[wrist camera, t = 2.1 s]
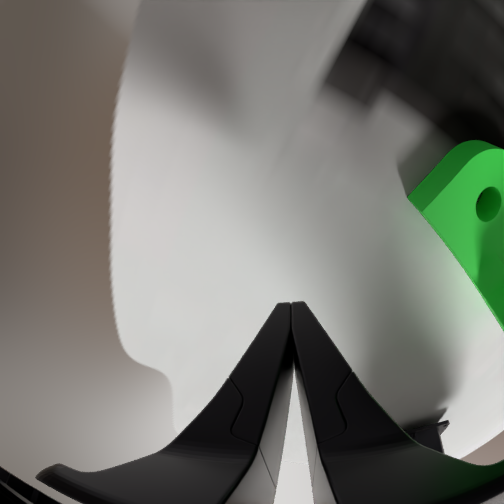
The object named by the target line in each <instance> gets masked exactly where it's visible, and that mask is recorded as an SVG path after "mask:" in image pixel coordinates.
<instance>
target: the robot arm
mask: <svg viewBox="0 0 504 504" xmlns="http://www.w3.org/2000/svg"><path fill="white" fill-rule="evenodd" d="M294 369H295V376H296V383H297V389H298V395H299V402H300V408H301V415H302V421H303V428H304V435H305V441H306V448H307V455H308V462H309V469H310V476H311V483H312V491H313V498H314V504H504V460H502V461H500V462H498V463H495V464H492V465H475V464H471V463H468V462H465V461H462V460H459V459H457V458H454V457H451V456H448V455H446V454H445V453H444V449H443V445H442V441H441V437H440V435H441V434H442V432H443V431H444V430H445V429H446V428H447V426H448V425H449V420H446V421H443V422H439V423H436V424H432V425H428V426H425V427H421V428H417V429H412V430H408V431H403V429H402V428H401V427H400V426H399V425H398V424H397V423H396V422H395V421H394V420H393V419H392V418H391V417H390V416H389V414H388V413H387V412H386V411H385V410H384V409H383V408H382V407H381V406H380V405H379V404H378V403H377V401H376V400H375V399H374V398H373V397H372V396H371V394H370V393H369V392H368V391H367V389H366V388H365V387H364V385H363V384H362V383H361V381H360V380H359V379H358V377H357V376H356V374H355V373H354V372H352V369H351V367H350V366H349V364H348V363H347V361H346V360H345V359H344V357H343V356H342V354H341V353H340V351H339V350H338V348H337V347H336V346H335V344H334V343H333V341H332V340H331V338H330V337H329V336H328V334H327V333H326V331H325V330H324V328H323V327H322V326H321V324H320V323H319V321H318V320H317V318H316V317H315V316H314V314H313V313H312V311H311V310H310V309H309V307H308V306H307V304H306V303H305V302H304V301H298V302H292V303H290V302H284V303H278V304H277V305H276V306H275V308H274V309H273V311H272V313H271V314H270V316H269V317H268V319H267V320H266V322H265V323H264V325H263V326H262V328H261V329H260V331H259V332H258V334H257V336H256V337H255V339H254V340H253V342H252V343H251V345H250V346H249V348H248V349H247V351H246V352H245V353H244V355H243V356H242V358H241V359H240V361H239V362H238V364H237V365H236V367H235V368H234V370H233V371H232V373H231V374H230V375H229V378H227V380H226V381H225V382H224V384H223V385H222V387H221V388H220V390H219V391H218V392H217V393H216V395H215V396H214V397H213V399H212V400H211V401H210V402H209V403H208V405H207V406H206V407H205V408H204V409H203V410H202V411H201V412H200V413H199V414H198V416H197V417H196V418H195V419H194V420H193V421H192V422H191V423H190V424H189V425H188V426H187V427H186V428H185V429H184V430H183V431H182V432H181V433H180V434H179V435H178V436H177V437H176V438H175V439H174V440H173V441H172V442H171V443H170V444H169V445H167V446H166V447H165V448H163V449H162V450H160V451H158V452H156V453H154V454H151V455H148V456H146V457H143V458H140V459H137V460H134V461H131V462H128V463H125V464H122V465H119V466H115V467H112V468H109V469H105V470H101V471H97V472H80V471H77V470H75V469H72V468H70V467H67V466H65V465H63V464H55V465H53V466H50V467H48V468H45V469H43V470H42V471H41V472H39V473H38V474H37V475H36V477H35V478H36V479H37V480H39V481H41V482H42V483H44V484H46V485H47V486H49V487H51V488H53V489H55V490H56V491H58V492H60V493H62V494H64V495H66V496H68V497H70V498H72V499H74V500H76V501H78V502H80V503H82V504H273V503H274V498H275V493H276V487H277V481H278V476H279V470H280V464H281V459H282V453H283V446H284V440H285V433H286V427H287V420H288V413H289V405H290V398H291V390H292V382H293V373H294ZM0 504H62V503H60V502H58V501H57V500H55V499H53V498H51V497H50V496H48V495H46V494H44V493H43V492H41V491H39V490H37V489H36V488H34V487H33V486H31V485H29V484H28V483H26V482H24V481H23V480H21V479H19V478H18V477H16V476H15V475H13V474H12V473H10V472H9V471H7V470H5V469H4V468H3V467H1V466H0Z"/></svg>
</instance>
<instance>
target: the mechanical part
mask: <svg viewBox="0 0 504 504" xmlns="http://www.w3.org/2000/svg"><path fill="white" fill-rule="evenodd" d="M482 191H483V192H482ZM481 192H482V196H481V198H480V200H479V201H478V203H477V204H476V202H477V199H478V197H479V195H480V193H481ZM407 198H408V199H409V201H410V202H411V203H412V204H413V205H414V206H415V207H416V209H417V210H418V211H419V212H420V213H421V214H422V216H423V217H424V218H425V219H426V220H427V222H428V223H429V224H430V225H431V227H432V228H433V229H434V230H435V231H436V233H437V234H438V235H439V237H440V238H441V239H442V240H443V242H444V243H445V244H446V246H447V247H448V248H449V250H450V251H451V252H452V254H453V255H454V256H455V258H456V259H457V260H458V262H459V263H460V265H461V266H462V267H463V269H464V270H465V272H466V273H467V275H468V276H469V278H470V279H471V281H472V282H473V284H474V285H475V287H476V288H477V290H478V291H479V293H480V294H481V296H482V297H483V299H484V301H485V302H486V304H487V306H488V307H489V309H490V310H491V312H492V313H493V315H494V317H495V318H496V320H497V321H498V323H499V324H500V326H501V328H502V329H503V331H504V149H501V148H499V147H497V146H494V145H492V144H489V143H487V142H484V141H480V140H470V141H466V142H463V143H461V144H459V145H457V146H456V147H454V148H453V149H452V150H450V151H449V152H448V153H447V154H446V155H445V157H444V158H443V159H442V160H441V161H440V162H439V163H438V164H437V166H436V167H435V168H434V169H433V170H432V171H431V172H430V173H429V174H428V175H427V177H426V178H425V179H424V180H423V181H422V182H421V183H420V184H419V185H418V186H417V187H416V188H415V189H414V190H413V191H412V193H411V194H410V195H409V196H408V197H407Z"/></svg>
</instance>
